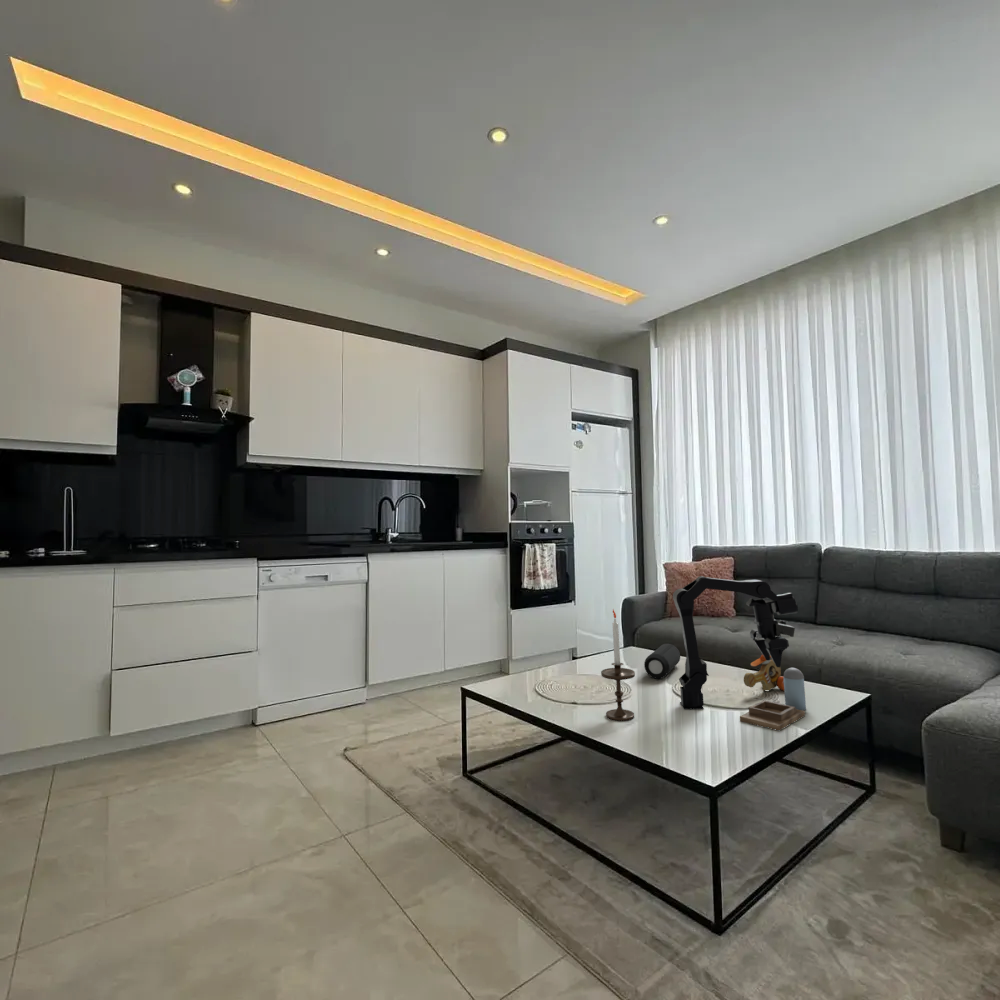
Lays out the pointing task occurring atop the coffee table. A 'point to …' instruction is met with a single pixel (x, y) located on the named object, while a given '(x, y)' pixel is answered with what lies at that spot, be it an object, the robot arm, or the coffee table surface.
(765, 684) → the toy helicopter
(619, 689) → the candlestick
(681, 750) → the coffee table surface
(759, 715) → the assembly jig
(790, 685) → the blue grey domed cylinder
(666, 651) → the portable speaker
